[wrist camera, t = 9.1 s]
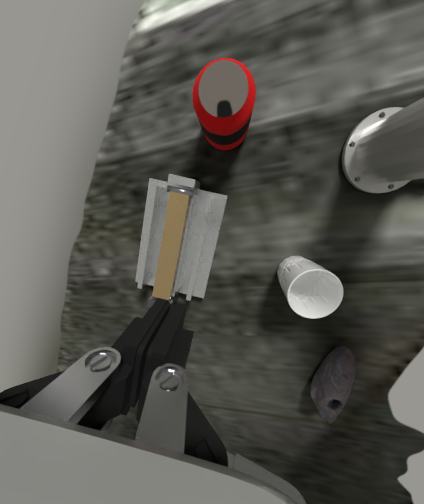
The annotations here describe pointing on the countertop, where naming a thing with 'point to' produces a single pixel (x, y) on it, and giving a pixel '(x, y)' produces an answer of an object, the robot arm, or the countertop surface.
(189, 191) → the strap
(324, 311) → the white cup
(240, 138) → the soda can
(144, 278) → the heatsink
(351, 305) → the countertop surface
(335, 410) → the perforated stone tool
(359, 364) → the countertop surface
